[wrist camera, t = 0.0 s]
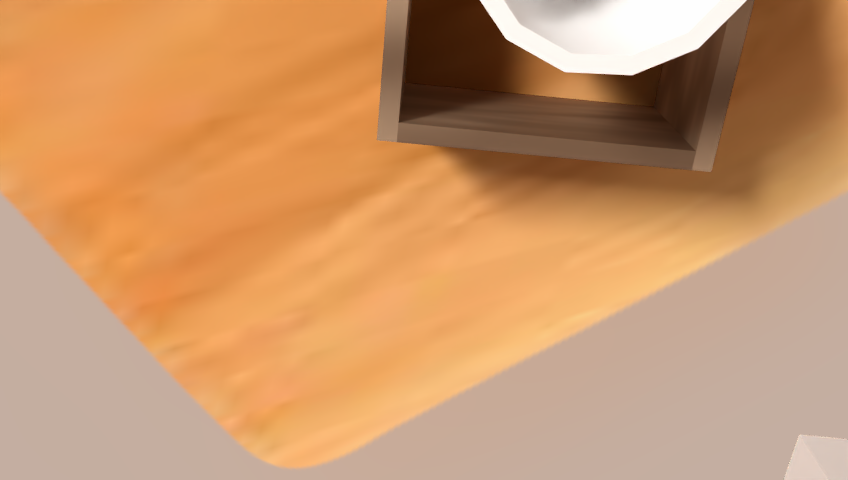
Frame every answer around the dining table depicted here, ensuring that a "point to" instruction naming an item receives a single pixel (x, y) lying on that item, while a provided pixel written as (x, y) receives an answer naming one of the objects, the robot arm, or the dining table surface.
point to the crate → (569, 108)
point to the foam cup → (609, 30)
